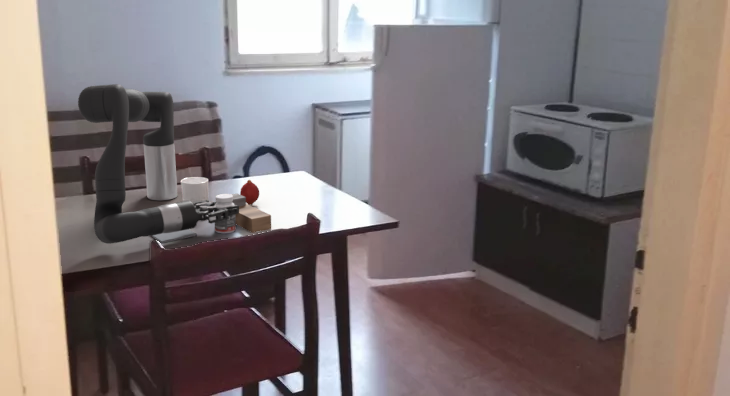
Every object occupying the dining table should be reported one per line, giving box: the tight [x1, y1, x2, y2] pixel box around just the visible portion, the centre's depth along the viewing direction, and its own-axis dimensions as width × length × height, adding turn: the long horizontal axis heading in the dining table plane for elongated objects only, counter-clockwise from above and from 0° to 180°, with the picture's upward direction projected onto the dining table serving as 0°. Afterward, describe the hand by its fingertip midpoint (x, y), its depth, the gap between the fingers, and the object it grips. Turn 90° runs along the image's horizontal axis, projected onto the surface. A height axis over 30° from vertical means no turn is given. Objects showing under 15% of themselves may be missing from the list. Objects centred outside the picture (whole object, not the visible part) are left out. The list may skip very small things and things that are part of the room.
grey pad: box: [151, 229, 198, 244], centre depth 200 cm, size 10×10×1 cm
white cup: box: [180, 176, 209, 202], centre depth 218 cm, size 8×8×10 cm
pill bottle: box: [213, 193, 237, 235], centre depth 202 cm, size 6×6×10 cm
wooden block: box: [230, 193, 272, 234], centre depth 211 cm, size 20×6×6 cm, turn 38°
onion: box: [239, 179, 260, 206], centre depth 227 cm, size 6×6×8 cm
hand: (232, 206), depth 203 cm, fingers closed on pill bottle, 5 cm apart
